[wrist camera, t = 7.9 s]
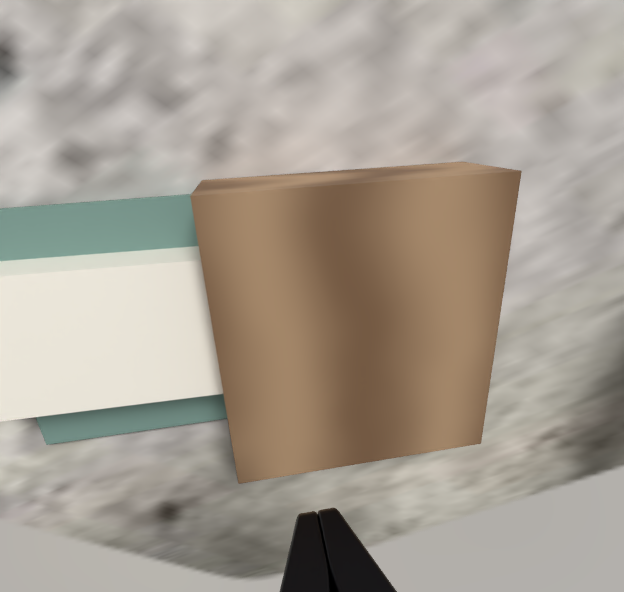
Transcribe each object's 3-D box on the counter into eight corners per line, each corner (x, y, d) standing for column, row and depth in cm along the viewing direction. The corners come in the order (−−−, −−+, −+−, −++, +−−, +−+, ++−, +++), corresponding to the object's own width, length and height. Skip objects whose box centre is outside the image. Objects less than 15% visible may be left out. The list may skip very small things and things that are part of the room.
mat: (204, 193, 16) (203, 194, 16) (238, 413, 20) (238, 416, 20) (-42, 211, 15) (-48, 213, 15) (49, 440, 19) (46, 444, 19)
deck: (462, 162, 17) (521, 171, 14) (441, 391, 22) (480, 443, 18) (202, 180, 16) (189, 196, 12) (239, 420, 21) (238, 483, 17)
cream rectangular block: (209, 245, 17) (205, 259, 15) (226, 368, 19) (224, 393, 17) (-30, 263, 15) (-66, 281, 14) (20, 391, 18) (-5, 422, 16)
